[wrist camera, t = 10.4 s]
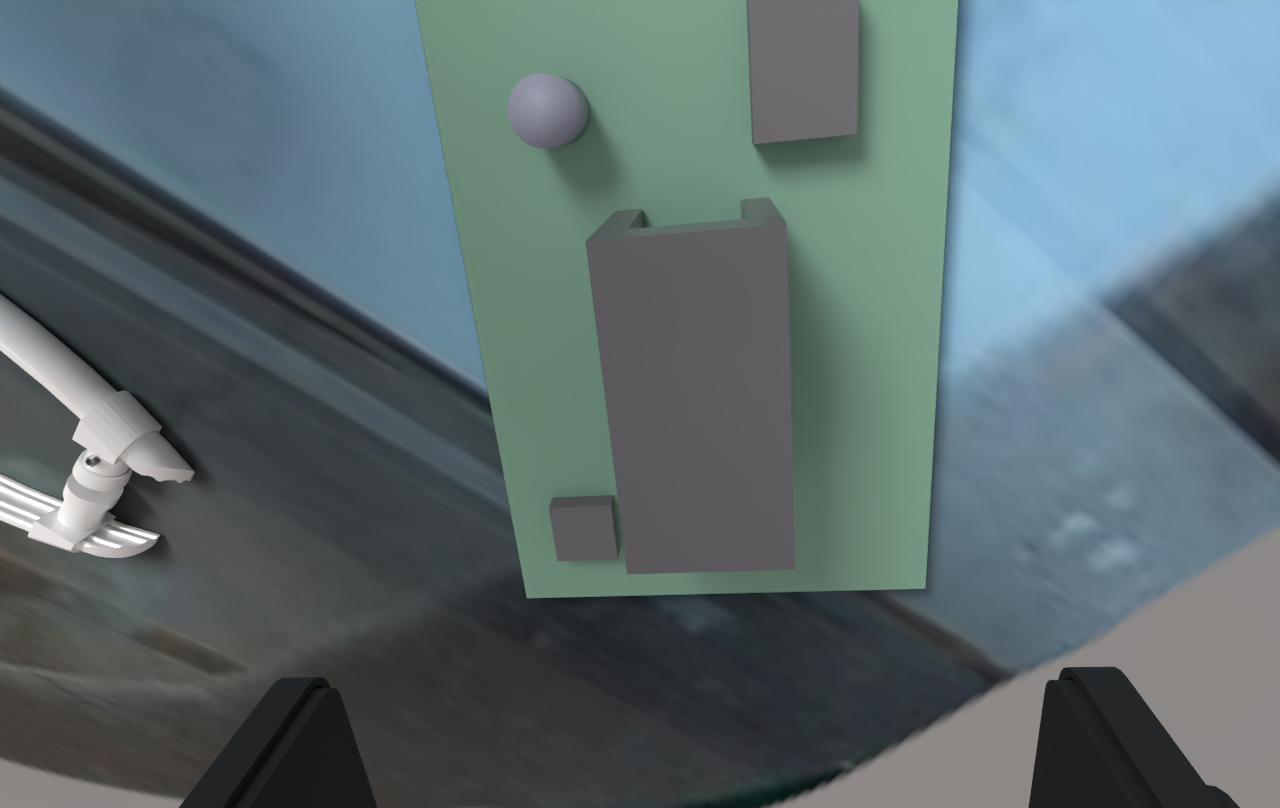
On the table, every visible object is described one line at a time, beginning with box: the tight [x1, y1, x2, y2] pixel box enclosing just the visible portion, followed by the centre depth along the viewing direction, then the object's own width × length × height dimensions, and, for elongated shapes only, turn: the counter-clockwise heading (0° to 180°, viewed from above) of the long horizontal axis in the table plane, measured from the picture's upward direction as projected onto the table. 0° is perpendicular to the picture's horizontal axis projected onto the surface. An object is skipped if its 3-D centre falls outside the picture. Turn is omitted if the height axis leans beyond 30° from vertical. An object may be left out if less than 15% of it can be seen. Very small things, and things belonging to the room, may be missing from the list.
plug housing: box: [585, 197, 795, 574], centre depth 22 cm, size 10×5×6 cm, turn 6°
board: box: [415, 0, 958, 598], centre depth 24 cm, size 24×16×3 cm, turn 6°
